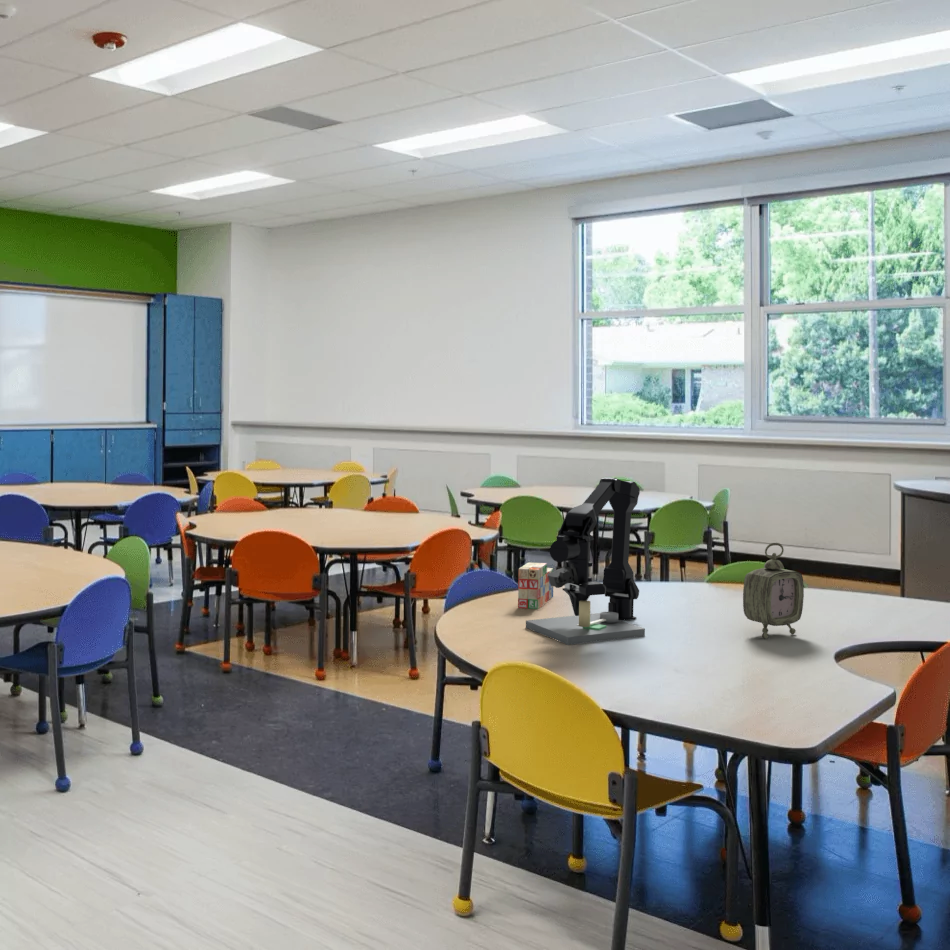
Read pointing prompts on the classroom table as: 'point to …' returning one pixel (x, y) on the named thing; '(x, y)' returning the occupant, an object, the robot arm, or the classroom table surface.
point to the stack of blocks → (534, 585)
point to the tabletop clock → (773, 594)
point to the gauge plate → (583, 629)
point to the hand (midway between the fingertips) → (576, 615)
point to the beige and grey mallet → (585, 615)
